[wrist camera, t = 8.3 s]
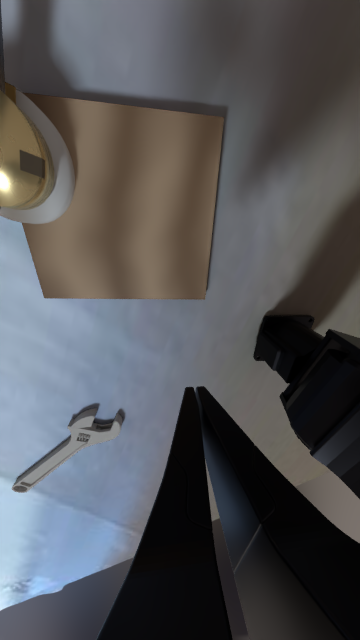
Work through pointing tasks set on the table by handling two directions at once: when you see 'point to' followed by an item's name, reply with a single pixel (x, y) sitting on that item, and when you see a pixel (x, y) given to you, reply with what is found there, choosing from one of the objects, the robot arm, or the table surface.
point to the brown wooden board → (122, 199)
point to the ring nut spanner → (21, 154)
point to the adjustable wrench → (70, 447)
